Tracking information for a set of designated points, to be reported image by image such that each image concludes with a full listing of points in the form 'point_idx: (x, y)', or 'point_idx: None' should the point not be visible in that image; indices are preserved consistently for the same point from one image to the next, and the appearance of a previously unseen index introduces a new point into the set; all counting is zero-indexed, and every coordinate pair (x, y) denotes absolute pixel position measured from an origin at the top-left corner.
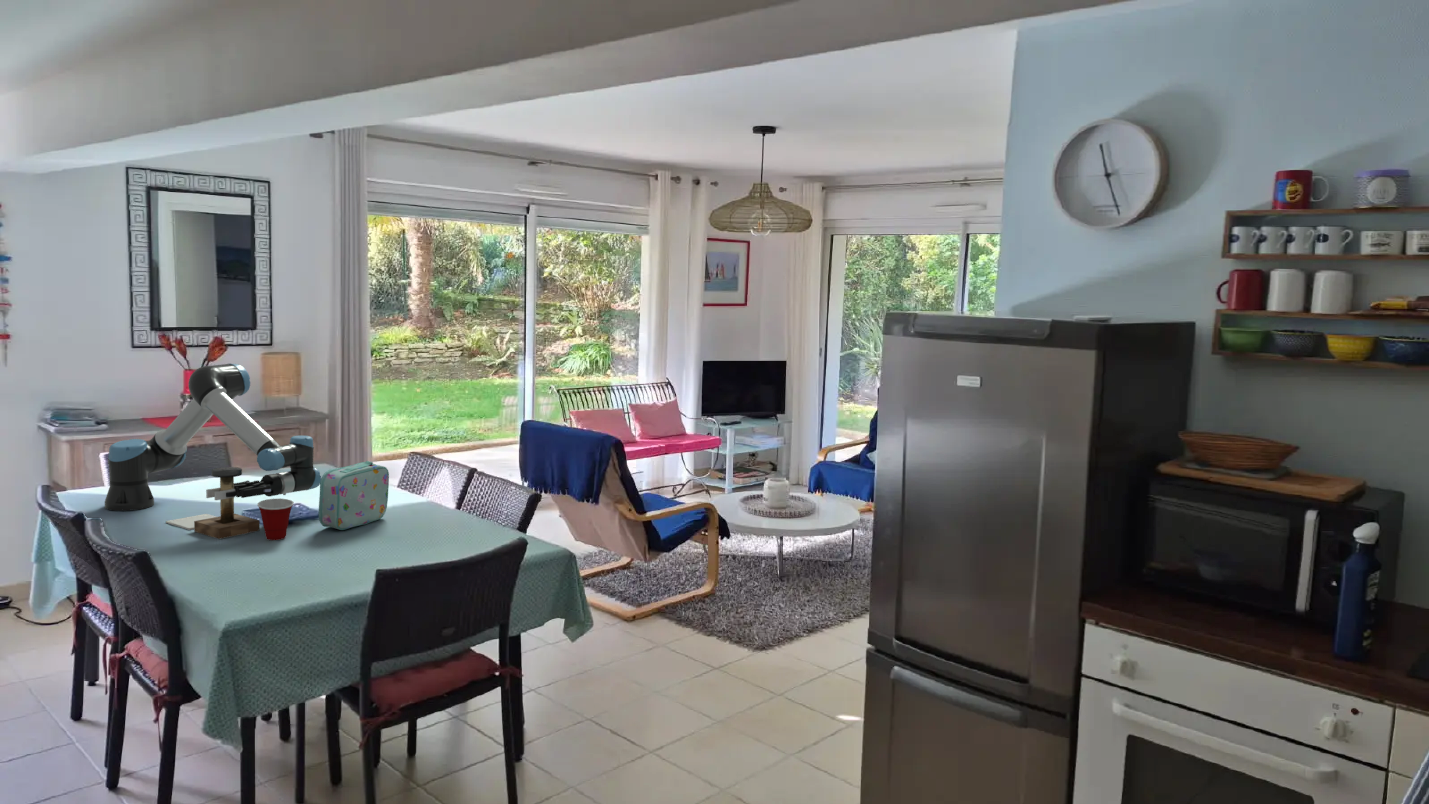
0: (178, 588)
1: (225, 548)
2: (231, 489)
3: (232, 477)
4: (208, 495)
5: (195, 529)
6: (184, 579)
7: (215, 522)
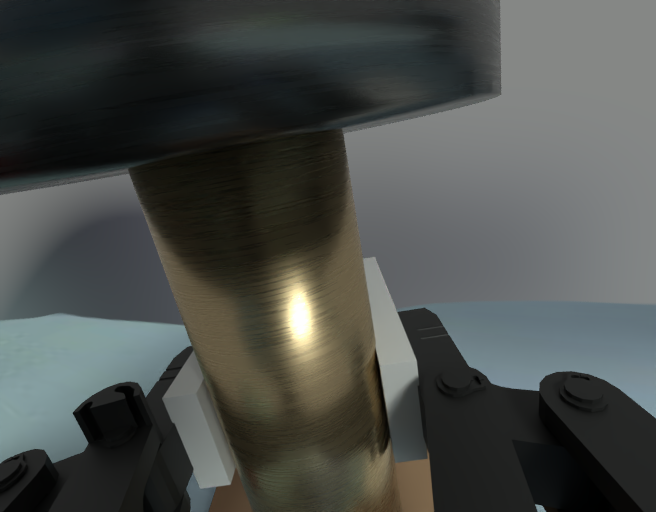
0: (70, 316)
1: None
2: (196, 366)
3: (145, 213)
4: None
5: None
6: (84, 327)
7: None
